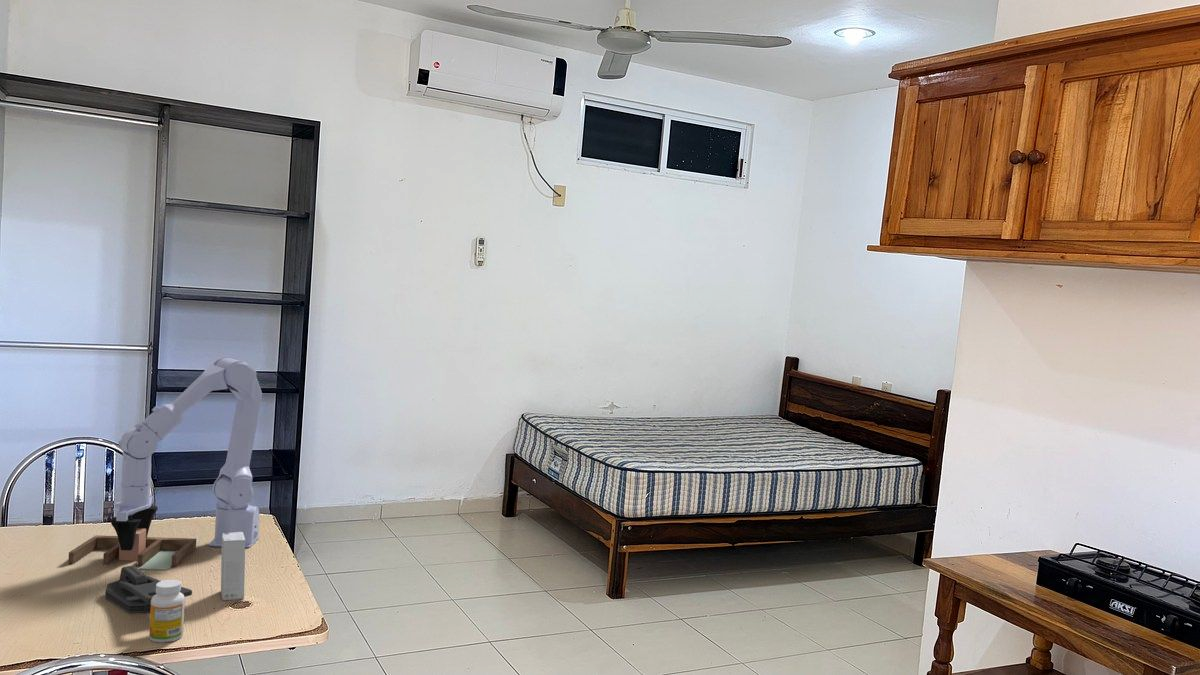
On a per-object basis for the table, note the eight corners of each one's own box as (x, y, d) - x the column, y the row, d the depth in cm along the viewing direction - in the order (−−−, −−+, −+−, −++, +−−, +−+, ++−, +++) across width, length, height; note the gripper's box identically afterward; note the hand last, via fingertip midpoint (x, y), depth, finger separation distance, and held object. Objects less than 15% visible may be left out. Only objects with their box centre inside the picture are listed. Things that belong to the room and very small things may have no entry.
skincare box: (244, 599, 174) (247, 539, 173) (220, 601, 172) (223, 541, 171) (242, 588, 180) (245, 530, 179) (218, 590, 178) (221, 532, 177)
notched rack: (195, 549, 202) (196, 538, 202) (172, 570, 187) (173, 558, 187) (95, 546, 199) (95, 535, 199) (63, 567, 185) (64, 555, 185)
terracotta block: (145, 555, 196) (146, 528, 195) (138, 560, 192) (139, 533, 191) (126, 554, 195) (127, 528, 195) (118, 560, 191) (119, 533, 191)
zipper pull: (145, 600, 154) (101, 561, 171) (143, 636, 154) (99, 594, 172) (197, 589, 160) (149, 553, 178) (195, 625, 161) (148, 585, 178)
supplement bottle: (157, 630, 157) (159, 577, 156) (188, 631, 157) (190, 578, 157) (143, 642, 152) (146, 588, 151) (176, 643, 152) (178, 589, 152)
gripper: (130, 475, 199) (128, 534, 200) (102, 491, 185) (99, 554, 186) (163, 477, 200) (160, 535, 201) (137, 492, 186) (134, 555, 186)
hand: (133, 544), depth 193 cm, fingers open, 7 cm apart
